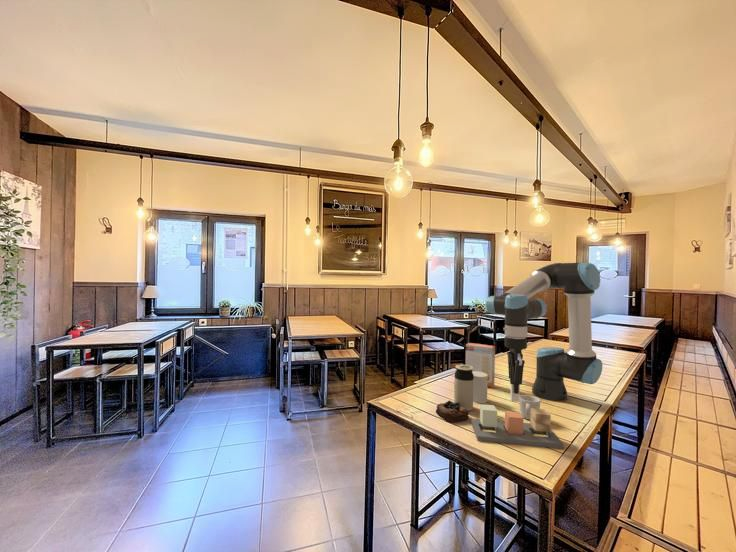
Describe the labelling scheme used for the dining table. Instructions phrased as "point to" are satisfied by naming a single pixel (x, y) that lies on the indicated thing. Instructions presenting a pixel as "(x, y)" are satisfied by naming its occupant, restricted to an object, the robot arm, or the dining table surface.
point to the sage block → (488, 415)
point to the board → (515, 435)
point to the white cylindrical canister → (480, 387)
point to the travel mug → (464, 386)
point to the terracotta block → (514, 422)
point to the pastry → (452, 412)
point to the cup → (528, 405)
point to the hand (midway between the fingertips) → (514, 400)
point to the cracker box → (482, 360)
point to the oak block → (540, 420)
